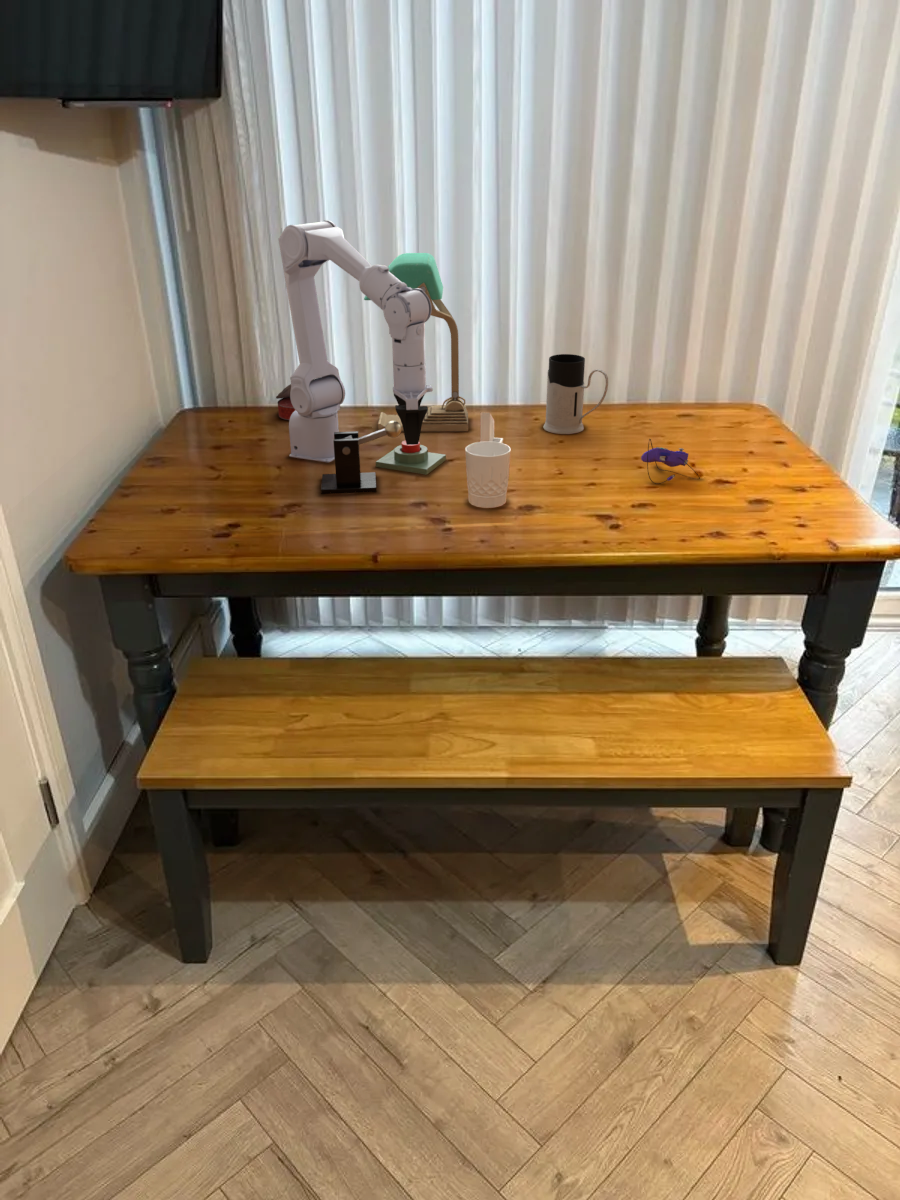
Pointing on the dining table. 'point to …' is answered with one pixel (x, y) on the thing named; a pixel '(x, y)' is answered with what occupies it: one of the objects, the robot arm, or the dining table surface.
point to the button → (410, 447)
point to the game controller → (666, 458)
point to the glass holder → (567, 394)
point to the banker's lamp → (425, 276)
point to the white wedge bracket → (487, 428)
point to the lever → (380, 433)
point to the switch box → (411, 460)
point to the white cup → (487, 473)
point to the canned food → (285, 403)
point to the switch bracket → (347, 468)
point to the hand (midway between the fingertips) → (411, 437)
